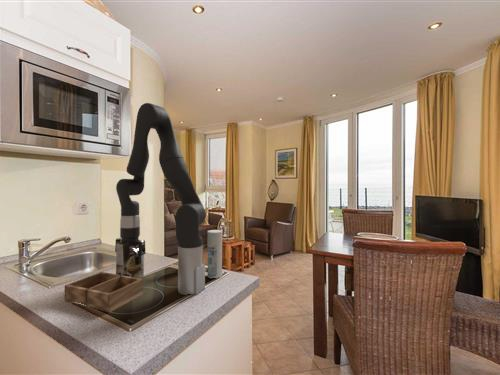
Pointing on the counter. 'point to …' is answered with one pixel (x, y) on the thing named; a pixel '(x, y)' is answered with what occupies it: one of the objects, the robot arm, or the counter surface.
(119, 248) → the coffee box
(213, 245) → the spray can
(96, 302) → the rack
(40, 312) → the counter surface
